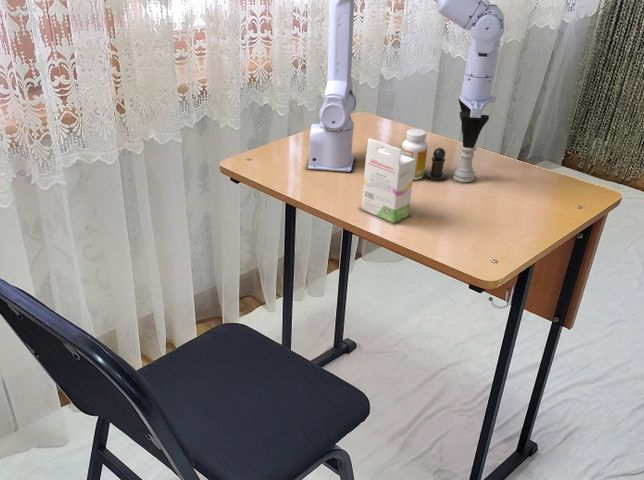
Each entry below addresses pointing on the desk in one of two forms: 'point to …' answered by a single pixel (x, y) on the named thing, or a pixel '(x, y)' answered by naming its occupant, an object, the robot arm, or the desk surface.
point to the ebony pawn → (437, 166)
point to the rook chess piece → (465, 166)
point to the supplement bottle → (416, 150)
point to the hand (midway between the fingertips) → (467, 140)
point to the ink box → (387, 181)
